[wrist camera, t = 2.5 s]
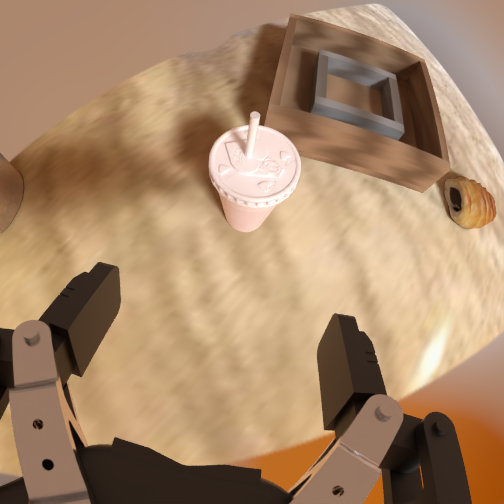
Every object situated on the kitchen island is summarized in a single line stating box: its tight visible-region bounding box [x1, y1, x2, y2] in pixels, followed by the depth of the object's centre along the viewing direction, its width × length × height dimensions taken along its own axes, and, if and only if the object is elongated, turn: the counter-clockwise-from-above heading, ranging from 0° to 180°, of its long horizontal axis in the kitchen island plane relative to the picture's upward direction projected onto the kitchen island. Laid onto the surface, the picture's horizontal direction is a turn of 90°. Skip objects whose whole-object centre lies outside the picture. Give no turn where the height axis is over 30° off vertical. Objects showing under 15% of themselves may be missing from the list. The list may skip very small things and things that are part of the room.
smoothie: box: [208, 112, 301, 232], centre depth 23 cm, size 6×6×14 cm
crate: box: [264, 14, 451, 193], centre depth 32 cm, size 20×20×6 cm
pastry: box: [444, 177, 496, 229], centre depth 32 cm, size 9×7×4 cm
